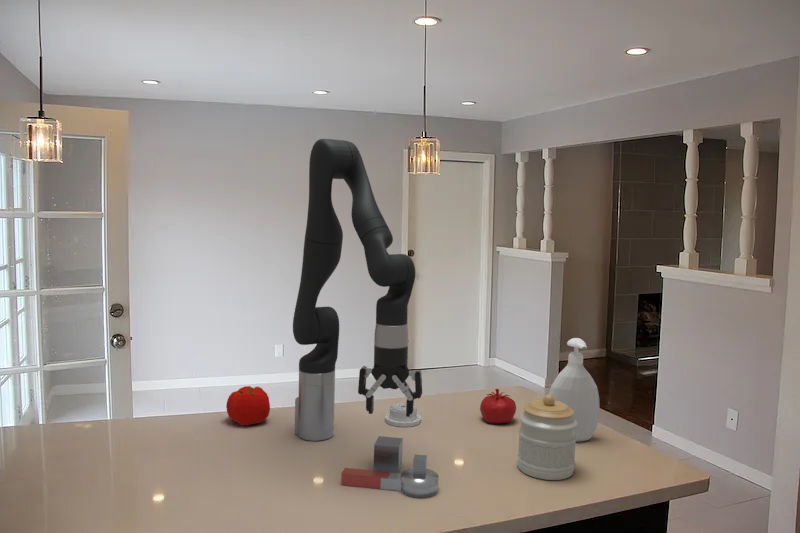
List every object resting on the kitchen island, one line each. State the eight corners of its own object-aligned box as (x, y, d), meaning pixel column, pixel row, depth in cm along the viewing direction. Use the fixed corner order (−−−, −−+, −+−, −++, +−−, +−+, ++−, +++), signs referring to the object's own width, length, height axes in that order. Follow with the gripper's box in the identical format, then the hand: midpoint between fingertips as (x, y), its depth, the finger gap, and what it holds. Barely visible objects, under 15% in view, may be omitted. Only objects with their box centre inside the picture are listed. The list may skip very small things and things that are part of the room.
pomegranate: (517, 428, 173) (520, 395, 172) (481, 426, 173) (483, 393, 172) (511, 415, 183) (514, 384, 182) (477, 413, 183) (479, 382, 182)
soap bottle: (552, 447, 159) (557, 342, 156) (540, 435, 167) (545, 335, 164) (605, 445, 161) (612, 341, 159) (591, 434, 169) (597, 335, 167)
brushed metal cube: (373, 471, 141) (374, 444, 140) (378, 462, 146) (378, 436, 146) (398, 474, 140) (399, 447, 139) (401, 464, 145) (402, 438, 145)
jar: (576, 463, 149) (580, 390, 147) (572, 485, 137) (577, 406, 135) (521, 454, 153) (524, 384, 152) (512, 475, 141) (516, 398, 139)
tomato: (235, 414, 177) (235, 382, 176) (276, 417, 175) (276, 385, 174) (219, 426, 166) (219, 393, 165) (262, 430, 165) (263, 396, 164)
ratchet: (439, 483, 136) (440, 451, 135) (436, 499, 128) (437, 466, 127) (347, 474, 139) (347, 443, 138) (338, 490, 131) (339, 457, 130)
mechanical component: (381, 425, 171) (417, 429, 169) (381, 410, 171) (417, 413, 169) (389, 414, 181) (423, 417, 179) (389, 399, 181) (424, 402, 179)
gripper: (356, 345, 138) (355, 417, 139) (420, 348, 136) (419, 421, 137) (363, 338, 145) (362, 407, 147) (424, 341, 143) (423, 411, 144)
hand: (389, 414), depth 142 cm, fingers open, 8 cm apart
